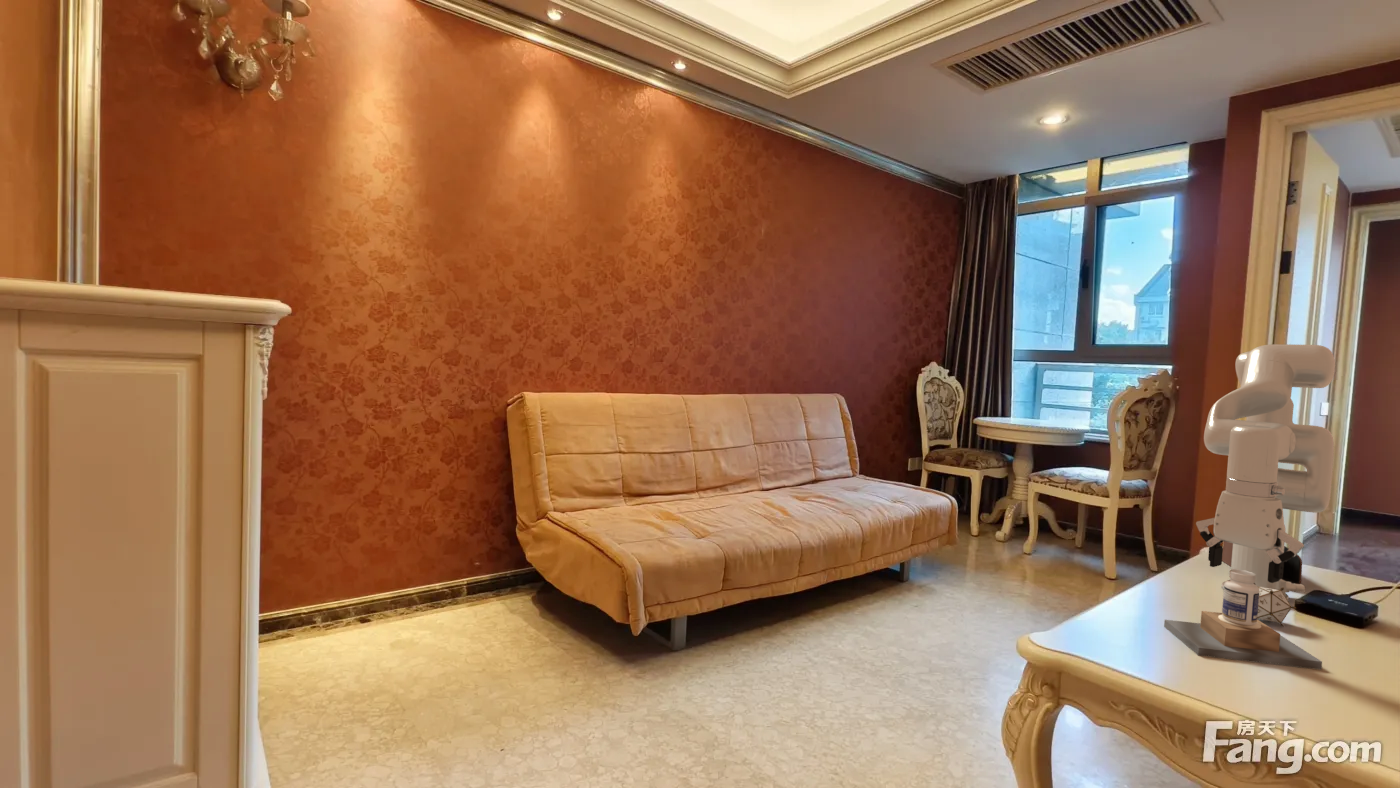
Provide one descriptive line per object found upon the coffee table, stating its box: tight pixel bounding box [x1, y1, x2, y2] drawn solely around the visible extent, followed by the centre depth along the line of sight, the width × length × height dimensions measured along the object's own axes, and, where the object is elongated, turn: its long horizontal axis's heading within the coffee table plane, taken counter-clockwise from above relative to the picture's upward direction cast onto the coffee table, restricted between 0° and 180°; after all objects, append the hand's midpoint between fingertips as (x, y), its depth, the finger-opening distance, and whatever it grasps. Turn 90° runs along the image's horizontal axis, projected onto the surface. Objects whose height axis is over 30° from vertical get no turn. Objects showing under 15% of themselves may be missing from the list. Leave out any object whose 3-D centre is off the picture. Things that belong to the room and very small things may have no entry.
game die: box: [1254, 583, 1297, 628], centre depth 144 cm, size 9×8×10 cm
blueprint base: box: [1163, 610, 1323, 671], centre depth 130 cm, size 20×14×5 cm
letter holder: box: [1222, 541, 1303, 584], centre depth 178 cm, size 10×20×14 cm, turn 162°
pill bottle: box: [1221, 569, 1259, 625], centre depth 130 cm, size 5×5×10 cm
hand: (1243, 573), depth 130 cm, fingers open, 9 cm apart
